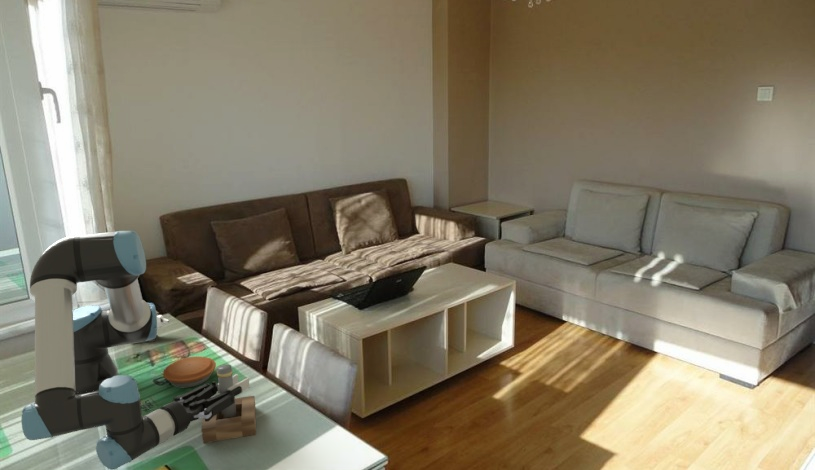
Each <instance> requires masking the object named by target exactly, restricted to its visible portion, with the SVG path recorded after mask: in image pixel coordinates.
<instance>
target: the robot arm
mask: <svg viewBox="0 0 815 470" xmlns="http://www.w3.org/2000/svg"><path fill="white" fill-rule="evenodd" d="M146 260H147V259H146V253H145V250H144V247H143V243H142V240H141V237H140V235H139V234H138V233H137V232H136V231H134V230H118V231H110V232H109V231H108V232H100V233H94V234H84V235H82V234H81V235H73V236H67V237H63V238H61V239H58V240H57V241H55V242H54V243H52V244H51V245H49V247H48V248H46V249H45V250H44V251H43V253H42V254H41V255H40V256H39V258H38V259H37V261H36V263H35V265H34V267H33V269H32V272H31V274H30V275H31V276H30V278H29V279H30V280H29V293H30V295H31V296H32V297H33V298H34V402H32V403H29V404H27V405H25V406H24V407H23V409H22V414H21V428H22V433H23V435H24V437H25V438H26V439H27V440H29V441H37V440H43V439H48V438H49V439H51V438H54V437H59V436H62V435H66V434H70V433H74V432H79V431H83V430H89V429H93V428H98V427H102V426H105V432H106V435H104V436H102V437H101V438H99V439H98V440H97V441H96V445H95V451H96V455H97V457H98V459H99V461H100V463H101V464H102V465H103V467H105V468H106V469H108V470H116V469H119V468H120V467H122V466H124V465H126V464H129V463H131V462H132V461H134V460H136V459H137V458H139V457H140V456H142V455H143V454H146V452H148V451H150V450H151V449H154V448H155V447H157V446H159V445H160V444H162V443H164V442H166V441H168V440H169V439H171V438H173V437H174V436H177V435H178V434H180V433H182V432H184V431H186V430H187V429H188V427H189V426H190V424H191V423H192V422H194V421H197V420H199V419H203V418H205V421H209V420H210V419H211V418H212V417H213V416H215V415H216V414H218V413H219V412H221V411H223V410H224V409H226V408H227V407H229V406H231V405H232V404H234V403H235V400H234V397H236V396H238V395H240V394H241V393H243V392H244V391H246V390H247V389H249V388H250V387H251V386H250V378H248V377H246V378H244V379H242V380H240V378H239V374H238V373H235V374H234V375H233V374H232V377H233V386H231V387H229V388H228V391H225V392H223V393H221V394H220V390H219V382H218V383H216V381H215V380H214V381H211V384H210V382H209V383H208V382H207V383H203V385H201V386H198V387H196V388H194V389H192V390H189V391H187V392H186V393H184V394H180V395H177V396H175V397H173V401H171V402H169V403H167V404H165V405H163V406H161V407H160V408H157V409H155V410H154V411H151V412H149V413H148V414H145V415H144V416H143V413H142V412H143V411H142V404H141V403H142V402H141V395H140V392H139V388H138V383H137V380H136V378H135V377H133V376H131V375H128V374H127V375H126V374H119V370H118V368H117V367H118V366H117V365H116V363H115V362H114V360H113V358H112V357H111V355H110V354H109V348H114V347H118V346H119V347H120V346H125V345H131V344H136V343H145V342H148V340H152V339H156V338H155V337H156V335H158V328H157V316H156V314H157V309H156V305H155V304H154V302H146V301H145V300H144V299H143V296H142V292H141V287H140V283H139V280H138V278H139V277H140V275H143V274H145V273H146V271H147V261H146ZM94 281H95V282H96V284H98V285H99V286H100V287H103V289H104V292H105V295H106V298H107V301H108V303H109V308H108V309H102V308H101V306H100V305H98V304H96V305H94V304H93V305H90V304H89V305H86V306H82V307H81V306H80V307H79V308H76V309H74V305H73V304H74V303H73V295H75V293H76V292H77V290H78V283H87V282H94ZM239 380H240V381H239ZM76 394H77V395H76ZM216 394H217V395H216Z"/></svg>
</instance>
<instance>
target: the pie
mask: <svg viewBox="0 0 815 470" xmlns="http://www.w3.org/2000/svg"><path fill="white" fill-rule="evenodd" d="M216 366H217V365H216V362H215V360H214V359H212V358H210V357H206V356H189V357H184V358H182V359H178V360H176V361H174V362H173V363H170V364H169V365H167V366H166V367H165V368H164V370H163V371H162V375H163V378H164V379H166V380H168V382H169V383H170V384H171V385H172V386H174V387H176V388H181V389H182V388H192V387H193V388H194V387H196V386H199V385H201V384H205V382H207V381H208V380H209V379H210V377H211V376H212V373H213V372H214V370H215V368H216Z"/></svg>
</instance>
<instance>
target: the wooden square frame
mask: <svg viewBox="0 0 815 470" xmlns="http://www.w3.org/2000/svg"><path fill="white" fill-rule="evenodd" d="M235 404H236V414H237V417H233V418H226V419H223V416H222V411H221V412H219V413H218V414H216V415H215V416H213V417H212V418H211V419H210V420H209V421H205V418H202V425H201V434H202V443H203V444H204V443H210V442H211V443H212V442H216V441H223V440H225V441H226V440H230V439H236V438H245V437H250V436H256V434H257V433H256V432H257V430H256V429H257V427H256V425H257V423H256V419H257V416H256V413H257V412H256V411H257V410H256V408H257V407H256V398H255V395H250V396H249V395H248V396H243V397H236V398H235Z"/></svg>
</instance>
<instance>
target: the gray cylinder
mask: <svg viewBox="0 0 815 470" xmlns="http://www.w3.org/2000/svg"><path fill="white" fill-rule="evenodd" d="M216 375H217V380H218V383H219V390H220V394H221V393H223V392H225V391H228V388H229V387H231V386H233V377H232V376H233V368H232V365H231V364H228V363H225V364H221V365H219V366H217V368H216ZM235 397H236V396H235ZM235 397H234V400H235ZM222 416H223V419H226V418H233V417H237V414H236V404H235V403H234V404H232V405H231V406H229V407H227V408H226V409H224V410H223V411H222Z"/></svg>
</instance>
